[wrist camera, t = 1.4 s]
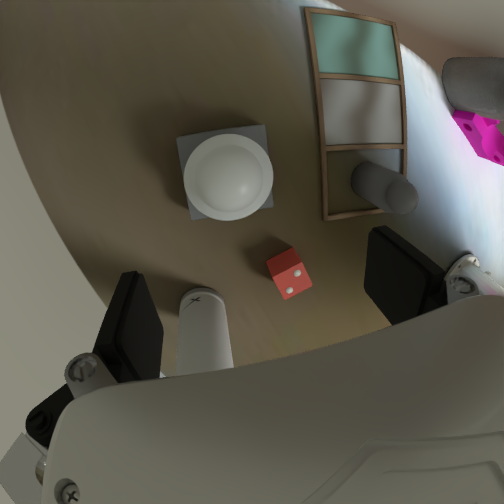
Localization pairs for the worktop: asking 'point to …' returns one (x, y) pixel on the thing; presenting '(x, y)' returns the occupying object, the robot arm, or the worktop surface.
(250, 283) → the worktop surface
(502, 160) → the toy block
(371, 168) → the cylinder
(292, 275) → the red die
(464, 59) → the pillar candle
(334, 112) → the brown flat rectangular frame
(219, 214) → the dome
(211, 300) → the travel mug
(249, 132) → the collar
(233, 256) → the worktop surface
